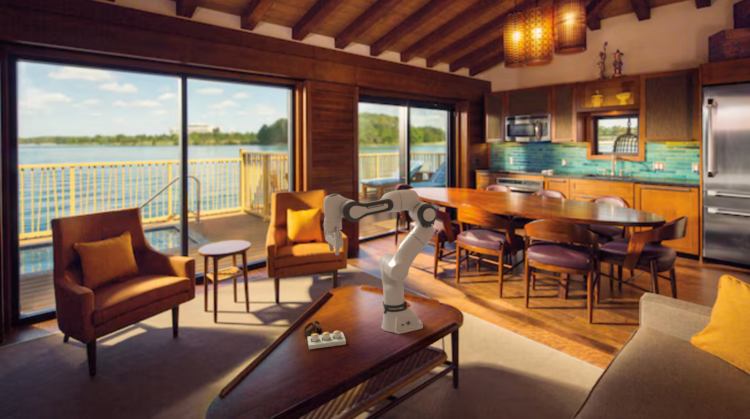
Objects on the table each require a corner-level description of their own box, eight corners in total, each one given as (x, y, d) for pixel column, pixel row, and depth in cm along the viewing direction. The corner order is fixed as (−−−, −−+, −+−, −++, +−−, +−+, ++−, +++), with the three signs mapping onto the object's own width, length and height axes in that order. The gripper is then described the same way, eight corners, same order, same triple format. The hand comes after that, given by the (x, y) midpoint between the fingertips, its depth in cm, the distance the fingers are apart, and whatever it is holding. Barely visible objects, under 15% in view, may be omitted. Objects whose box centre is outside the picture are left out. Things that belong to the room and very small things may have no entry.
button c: (318, 338, 209) (318, 332, 209) (319, 341, 206) (319, 335, 206) (311, 339, 209) (310, 333, 208) (311, 342, 205) (311, 336, 205)
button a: (340, 335, 212) (340, 329, 211) (341, 338, 208) (341, 332, 208) (333, 336, 211) (332, 330, 211) (334, 339, 208) (333, 333, 207)
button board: (342, 337, 216) (342, 332, 215) (346, 346, 206) (345, 340, 206) (307, 342, 212) (307, 336, 211) (309, 351, 202) (308, 345, 202)
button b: (329, 337, 211) (329, 331, 210) (330, 340, 207) (330, 334, 207) (322, 338, 210) (322, 332, 209) (323, 341, 206) (322, 335, 206)
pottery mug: (323, 340, 214) (314, 328, 212) (308, 347, 217) (299, 335, 214) (327, 325, 225) (319, 314, 223) (312, 331, 228) (304, 320, 225)
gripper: (345, 228, 202) (346, 256, 204) (333, 222, 221) (334, 248, 223) (333, 230, 200) (334, 258, 202) (321, 223, 219) (323, 249, 221)
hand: (334, 252), depth 212 cm, fingers open, 8 cm apart
